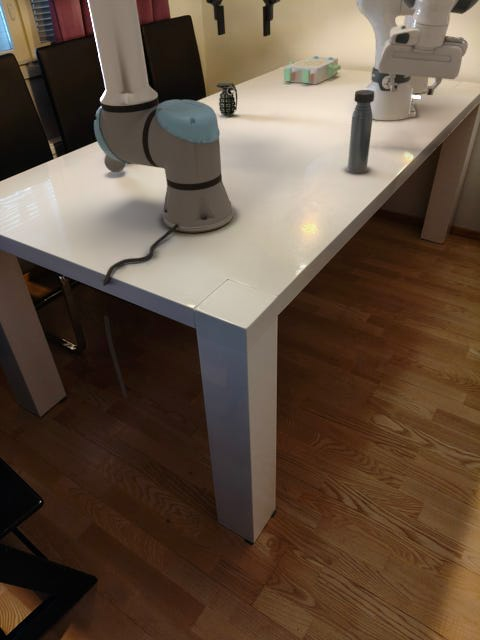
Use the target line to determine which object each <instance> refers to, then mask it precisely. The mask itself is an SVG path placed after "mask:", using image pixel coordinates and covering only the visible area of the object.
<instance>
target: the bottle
mask: <svg viewBox="0 0 480 640" xmlns="http://www.w3.org/2000/svg"><path fill="white" fill-rule="evenodd" d="M370 104H371V102H370V103H359V102H356V105H355V107H354V110H353V113H352V116H351V126H350V136H349V146H348V157H347V158H348V159H347V172H348V173H351V174H355V175H356V174H359V175H360V174H364V173H366V172H367V171H368V163H369V154H370V153H369V152H370V143H371V136H372V127H373V120H374V119H373V117H372V116H373V114H372V108H371V105H370Z"/></svg>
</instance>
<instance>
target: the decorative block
mask: <svg viewBox="0 0 480 640" xmlns="http://www.w3.org/2000/svg"><path fill="white" fill-rule="evenodd" d="M338 63H339V58H335V57H332V56H329V57H322V56H317V55H315V56H313V57H310V58H304V59H302V60H301V59H300V60H299V61H296V62H294V61H289V63H288V65H286V67H284V68H283V81H284V82H292V83H302V84H310V85H311V84H312V85H318V84H320V83H322V82H324V81H326V80H328V79H331V78H333V77H334V76H335V75H336V74H338V71H340V70H341V67H342V65H340V64H338Z"/></svg>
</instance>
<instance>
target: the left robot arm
mask: <svg viewBox="0 0 480 640" xmlns="http://www.w3.org/2000/svg"><path fill="white" fill-rule="evenodd" d="M262 1H263V3H264V5H263V6H262V36H263V37H268V36H271V21H274V6H275V4H277V3H280V2H281V0H262ZM222 2H223V0H206V3H207V4H210V5H212V7H213V18H214V20H215V21H216V27H217V36H223V35H225V34H226V24H225V23H226V22H225V5H222V4H223V3H222ZM87 3H88V4H87V5H88V8H89V13H90V20H91V23H92V29H93V34H94V39H95V43H96V49H97V53H98V59H99V63H100V68H101V73H102V78H103V84H104V88H105V90H104V92H103V93H102V95H101V97H100V98H99V102H100V107H98V109H97V110H96V113H95V120H93V130H94V135H95V139H96V143H97V144H98V146H99V147H100V149H101V150H102V152H103V153H104V154H105V156H106V155H108V156H109V157H111V158H112V159H115V160H118V161H122V162H124V163H126V164H128V165H131V164H132V165H139V166H146V167H154V168H160V169H164V174H165V180H166V190H165V191H166V192H165V196H164V203H163V207H162V218H163V222H164V224H165V226H167V227H168V228H169V230H167V231H166V232H165V233H164V234H163V235H162V236H161V237H159V238H158V239H157V240H156V241H155V242H154V243H152V244H151V246H149V247H150V248H149V251H148V254H146V255H144V256H141V257H130V258H125V259H121V260H120V261H117V262H115V263H114V264H113V265H112V264H111V266H110V267H109V268H108V270H107V272H106V275H105V277H104V280H103V284H102V286H107V285H108V283H109V280H110V277H111V275H112V273H113V271H114V270H115V269H116V268H118V267H120V266H122V265H124V264H128V263H137V262H144V261H147V260H149V259H150V258H152V257H153V254H154V249H155V248H156V247H157V246H158V245H159V244H160V243H162V242H163V241H164V240H165V239H166V238H167V237H168V236H170V235H171V234H172V233H173V232H174V231H177V232H180V233H190V234H191V233H192V234H193V233H194V234H195V233H196V234H197V233H205V232H206V233H207V232H210V231H215V230H216V229H220V228H222V227H224V226H226V225H227V224H228V223H230V221H231V220H232V218H233V216H234V212H233V211H234V210H233V205H232V201H231V200H230V197H229V195H228V192H227V190H226V187H225V184H224V182H223V175H222V174H223V173H222V161H221V159H222V158H221V145H220V133H221V132H220V129H219V123H218V116H217V113H216V112H215V110H214V109H213V108H212V106H210V105H208V104H206V103H204V102H202V101H198V100H193V99H169V100H165V101H162V102H160V101H159V94H158V92H157V91H156V90H155V89H153V88H152V87H151V85H150V84H149V78H148V71H147V64H146V57H145V52H144V44H143V39H142V32H141V24H140V19H139V12H138V5H137V0H87ZM103 318H104V319H103V320H104V325H105V332H106V338H107V342H108V346H109V351H110V354H111V358H112V360H113V365H114V368H115V371H116V374H117V378H118V381H119V385H120V388H121V392H122V396H123V399H127V398H128V395H127V390H126V386H125V383H124V382H125V381H124V379H123V375H122V372H121V369H120V366H119V362H118V359H117V355H116V351H115V347H114V344H113V338H112V334H111V333H112V332H111V328H110V321H109V315H105V314H104V315H103Z"/></svg>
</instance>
